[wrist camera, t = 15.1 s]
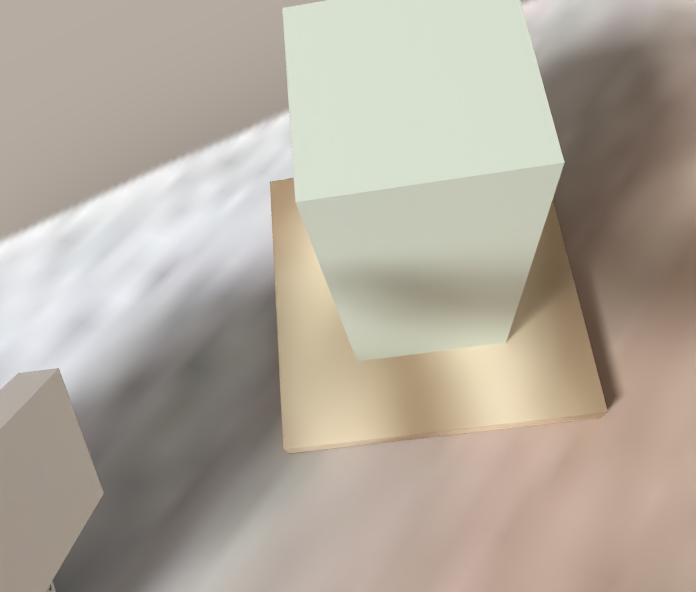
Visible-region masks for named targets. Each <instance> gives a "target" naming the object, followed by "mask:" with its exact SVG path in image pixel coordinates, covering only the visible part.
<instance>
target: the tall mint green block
mask: <svg viewBox="0 0 696 592" xmlns="http://www.w3.org/2000/svg"><path fill="white" fill-rule="evenodd" d="M283 23H284V38H285V53H286V68H287V82H288V98H289V113H290V128H291V143H292V158H293V173H294V188H295V202H296V205H297V208H298V210H299V213H300V215H301V218H302V220H303V223H304V226H305V228H306V231H307V233H308V236H309V239H310V241H311V244H312V246H313V249H314V251H315V254H316V257H317V259H318V262H319V264H320V267H321V270H322V272H323V275H324V277H325V280H326V283H327V285H328V288H329V290H330V293H331V295H332V298H333V301H334V303H335V306H336V308H337V311H338V314H339V316H340V319H341V321H342V324H343V326H344V329H345V332H346V334H347V337H348V339H349V342H350V345H351V347H352V350H353V352H354V355H355V358H356V360H357V361H365V360H373V359H381V358H389V357H397V356H405V355H413V354H421V353H429V352H437V351H445V350H453V349H461V348H469V347H477V346H485V345H493V344H501V343H506V341H507V338H508V335H509V332H510V329H511V326H512V323H513V319H514V316H515V313H516V310H517V307H518V304H519V301H520V298H521V295H522V292H523V289H524V286H525V283H526V280H527V276H528V273H529V270H530V267H531V264H532V261H533V258H534V255H535V252H536V249H537V246H538V243H539V240H540V237H541V234H542V230H543V227H544V224H545V221H546V218H547V215H548V212H549V209H550V206H551V203H552V200H553V197H554V194H555V191H556V187H557V184H558V181H559V178H560V175H561V172H562V169H563V166H564V163H565V162H564V159H563V155H562V151H561V148H560V144H559V140H558V137H557V133H556V129H555V126H554V122H553V118H552V115H551V111H550V107H549V104H548V100H547V97H546V93H545V89H544V86H543V82H542V78H541V75H540V71H539V67H538V64H537V60H536V56H535V53H534V49H533V45H532V42H531V38H530V34H529V31H528V27H527V23H526V20H525V16H524V12H523V9H522V5H521V1H520V0H327V1H322V2H315V3H310V4H304V5H298V6H292V7H287V8H283Z"/></svg>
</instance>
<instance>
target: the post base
mask: <svg viewBox="0 0 696 592" xmlns="http://www.w3.org/2000/svg"><path fill="white" fill-rule="evenodd" d="M270 191H271V211H272V232H273V252H274V273H275V293H276V313H277V334H278V354H279V374H280V395H281V415H282V436H283V450H285V451H286V452H288V453H297V452H306V451H314V450H323V449H332V448H340V447H349V446H358V445H367V444H375V443H384V442H393V441H401V440H410V439H419V438H428V437H436V436H445V435H454V434H462V433H471V432H480V431H489V430H497V429H506V428H515V427H523V426H532V425H541V424H550V423H558V422H567V421H576V420H584V419H593V418H601V417H602V416H604V415H605V414H606V413H607V412H608V411H607V407H606V403H605V399H604V395H603V391H602V387H601V384H600V380H599V376H598V372H597V368H596V364H595V360H594V356H593V352H592V349H591V345H590V341H589V337H588V333H587V329H586V325H585V321H584V318H583V314H582V310H581V306H580V302H579V298H578V294H577V290H576V286H575V283H574V279H573V275H572V271H571V267H570V263H569V259H568V255H567V252H566V248H565V244H564V240H563V236H562V232H561V228H560V224H559V220H558V217H557V213H556V209H555V205H554V201H553V200H552V203H551V206H550V209H549V212H548V215H547V218H546V221H545V224H544V227H543V230H542V234H541V237H540V240H539V243H538V246H537V249H536V252H535V255H534V258H533V261H532V264H531V267H530V270H529V273H528V276H527V280H526V283H525V286H524V289H523V292H522V295H521V298H520V301H519V304H518V307H517V310H516V313H515V316H514V319H513V323H512V326H511V329H510V332H509V335H508V338H507V341H506V343H501V344H493V345H485V346H477V347H469V348H461V349H453V350H445V351H437V352H429V353H421V354H413V355H405V356H397V357H389V358H381V359H373V360H365V361H357V360H356V358H355V355H354V352H353V350H352V347H351V345H350V342H349V339H348V337H347V334H346V332H345V329H344V326H343V324H342V321H341V319H340V316H339V314H338V311H337V308H336V306H335V303H334V301H333V298H332V295H331V293H330V290H329V288H328V285H327V283H326V280H325V277H324V275H323V272H322V270H321V267H320V264H319V262H318V259H317V257H316V254H315V251H314V249H313V246H312V244H311V241H310V239H309V236H308V233H307V231H306V228H305V226H304V223H303V220H302V218H301V215H300V213H299V210H298V208H297V205H296V202H295V188H294V178H292V179H285V180H278V181H272V182H270Z"/></svg>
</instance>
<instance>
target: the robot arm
mask: <svg viewBox="0 0 696 592" xmlns="http://www.w3.org/2000/svg"><path fill="white" fill-rule="evenodd" d="M103 494H104V492H103V489H102V486H101V484H100V481H99V478H98V475H97V473H96V470H95V467H94V464H93V462H92V459H91V456H90V453H89V451H88V448H87V445H86V442H85V439H84V437H83V434H82V431H81V428H80V426H79V423H78V420H77V417H76V415H75V412H74V409H73V406H72V404H71V401H70V398H69V395H68V392H67V390H66V387H65V384H64V381H63V379H62V376H61V373H60V370H59V368H57V369H49V370H41V371H33V372H25V373H18V374H17V375H16V376H15V377H14V378H13V379H12V380H10V381H9V382H8V383H7V384H6V385H5V386H4V387H3V388H2V389H1V390H0V592H46V591H47V589H48V587H49V585H50V584H51V582H52V580H53V579H54V577H55V575H56V574H57V572H58V570H59V569H60V567H61V565H62V563H63V562H64V560H65V558H66V557H67V555H68V553H69V552H70V550H71V548H72V547H73V545H74V543H75V542H76V540H77V538H78V536H79V535H80V533H81V531H82V530H83V528H84V526H85V525H86V523H87V521H88V520H89V518H90V516H91V514H92V513H93V511H94V509H95V508H96V506H97V504H98V503H99V501H100V499H101V498H102V496H103Z"/></svg>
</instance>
